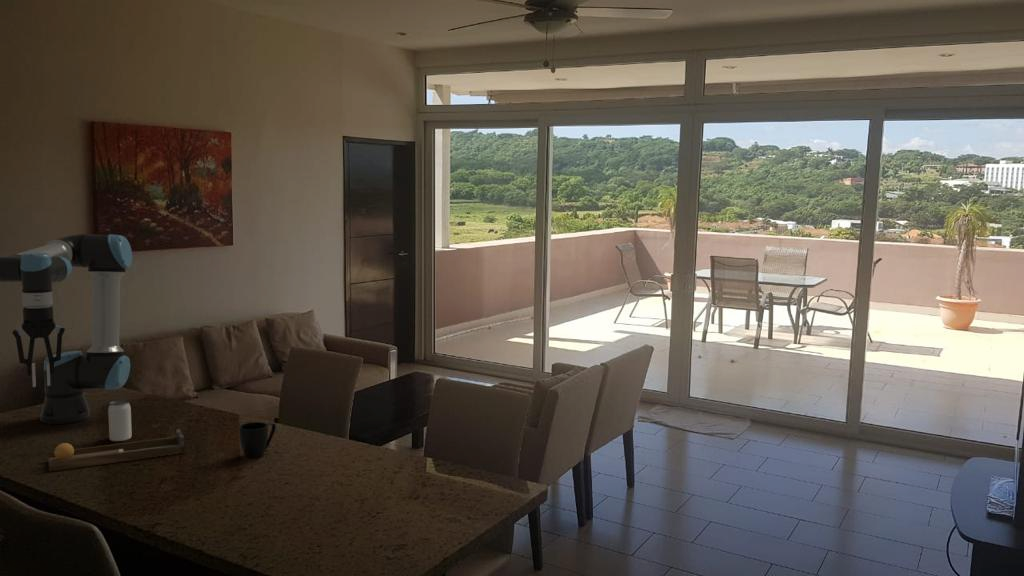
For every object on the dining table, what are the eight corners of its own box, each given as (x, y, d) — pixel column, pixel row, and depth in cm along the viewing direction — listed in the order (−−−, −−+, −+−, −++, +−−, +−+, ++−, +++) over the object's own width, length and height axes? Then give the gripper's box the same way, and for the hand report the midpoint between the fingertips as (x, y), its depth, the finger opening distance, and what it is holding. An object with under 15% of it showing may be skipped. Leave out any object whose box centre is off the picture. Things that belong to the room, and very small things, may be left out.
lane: (48, 460, 232) (48, 444, 231) (179, 444, 250) (179, 428, 250) (48, 471, 223) (48, 454, 223) (184, 453, 242) (184, 437, 241)
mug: (283, 452, 245) (283, 422, 244) (251, 462, 235) (250, 431, 234) (267, 446, 250) (266, 417, 248) (234, 456, 240) (233, 426, 239)
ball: (54, 458, 231) (53, 442, 230) (74, 456, 233) (73, 439, 232) (54, 463, 226) (54, 447, 226) (74, 461, 229) (73, 444, 228)
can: (125, 442, 251) (124, 405, 249) (105, 441, 251) (104, 405, 250) (135, 436, 257) (134, 400, 256) (115, 435, 257) (114, 399, 256)
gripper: (4, 309, 221) (8, 391, 223) (69, 306, 229) (73, 385, 231) (5, 305, 227) (9, 385, 230) (69, 303, 235) (72, 380, 238)
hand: (41, 385), depth 231 cm, fingers open, 3 cm apart
